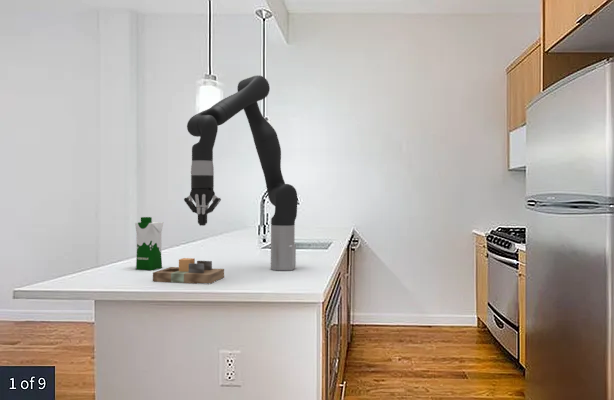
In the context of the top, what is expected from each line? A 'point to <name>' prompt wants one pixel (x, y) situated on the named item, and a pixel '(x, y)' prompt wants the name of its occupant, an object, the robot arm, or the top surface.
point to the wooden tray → (190, 274)
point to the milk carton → (148, 244)
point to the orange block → (185, 264)
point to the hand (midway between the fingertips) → (202, 225)
